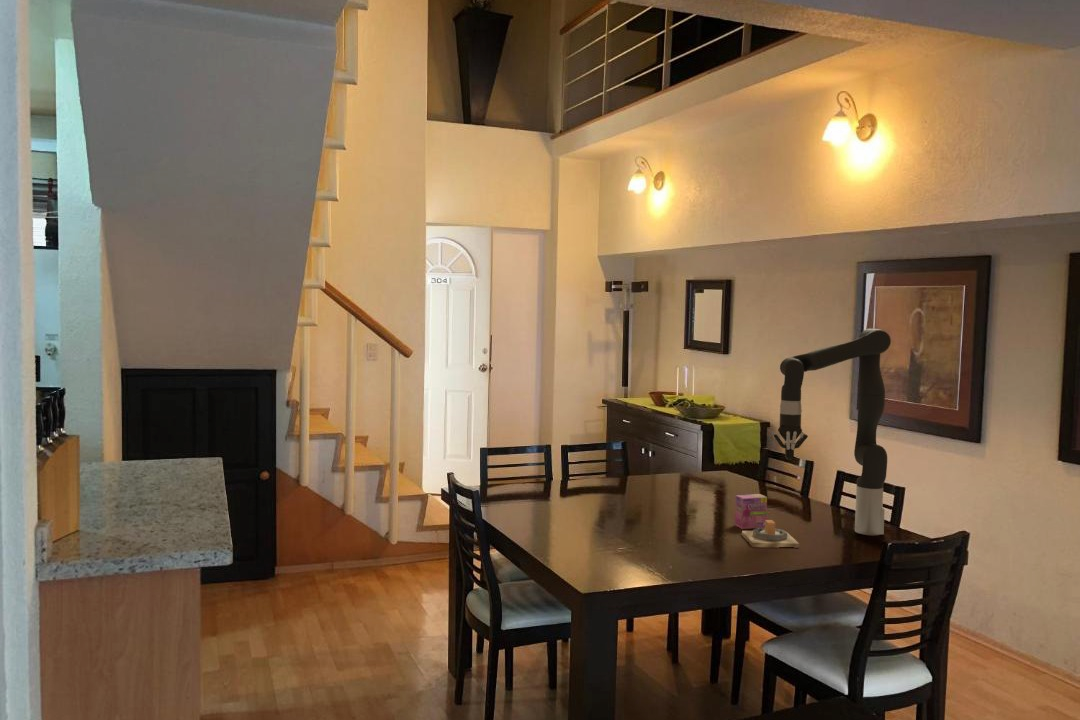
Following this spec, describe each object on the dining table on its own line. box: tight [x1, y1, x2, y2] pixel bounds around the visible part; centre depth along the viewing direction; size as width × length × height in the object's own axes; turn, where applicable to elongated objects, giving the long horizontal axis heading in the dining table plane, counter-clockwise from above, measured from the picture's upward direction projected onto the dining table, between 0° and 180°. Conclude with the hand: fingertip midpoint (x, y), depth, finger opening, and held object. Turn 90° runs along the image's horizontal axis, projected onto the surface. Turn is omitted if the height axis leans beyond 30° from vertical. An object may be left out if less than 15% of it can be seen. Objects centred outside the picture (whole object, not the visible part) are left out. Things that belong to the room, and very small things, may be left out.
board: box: [741, 530, 800, 549], centre depth 304 cm, size 16×16×2 cm
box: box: [734, 493, 768, 530], centre depth 324 cm, size 10×6×12 cm, turn 105°
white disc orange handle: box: [760, 519, 780, 535], centre depth 304 cm, size 7×7×6 cm
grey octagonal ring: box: [752, 527, 788, 541], centre depth 304 cm, size 11×11×2 cm
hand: (789, 459), depth 316 cm, fingers closed
